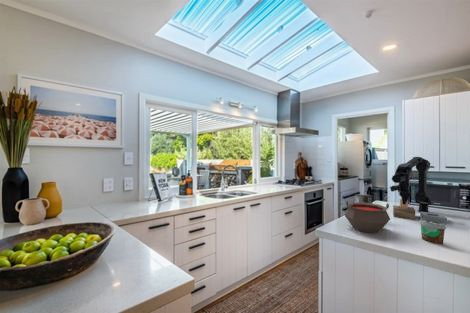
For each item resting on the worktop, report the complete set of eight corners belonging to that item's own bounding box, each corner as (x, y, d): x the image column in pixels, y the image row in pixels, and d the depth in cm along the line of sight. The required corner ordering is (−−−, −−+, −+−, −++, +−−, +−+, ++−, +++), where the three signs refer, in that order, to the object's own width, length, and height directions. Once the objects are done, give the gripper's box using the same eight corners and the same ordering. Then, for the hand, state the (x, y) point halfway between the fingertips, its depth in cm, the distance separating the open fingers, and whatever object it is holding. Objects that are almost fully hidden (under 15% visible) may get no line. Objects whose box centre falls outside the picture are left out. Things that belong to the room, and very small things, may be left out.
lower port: (420, 216, 162) (420, 211, 162) (442, 219, 155) (442, 214, 155) (422, 220, 152) (423, 215, 151) (447, 223, 145) (447, 218, 145)
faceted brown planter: (345, 232, 128) (346, 204, 128) (342, 220, 150) (343, 196, 150) (396, 238, 119) (396, 208, 119) (385, 225, 141) (385, 199, 141)
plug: (399, 208, 165) (399, 198, 165) (407, 209, 163) (407, 199, 162) (400, 209, 161) (400, 199, 161) (407, 210, 159) (408, 200, 159)
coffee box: (367, 216, 160) (368, 194, 160) (372, 219, 154) (372, 195, 153) (354, 216, 161) (354, 193, 161) (358, 219, 155) (358, 195, 154)
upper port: (393, 213, 170) (393, 205, 170) (413, 215, 164) (413, 207, 164) (393, 216, 160) (393, 208, 160) (415, 219, 154) (415, 210, 154)
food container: (412, 236, 123) (412, 218, 123) (423, 236, 123) (423, 217, 123) (434, 245, 111) (434, 225, 110) (445, 245, 111) (446, 225, 111)
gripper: (390, 180, 174) (389, 200, 174) (391, 182, 158) (390, 204, 158) (408, 181, 168) (407, 202, 168) (411, 183, 152) (410, 207, 152)
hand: (403, 203), depth 162 cm, fingers closed on plug, 4 cm apart
